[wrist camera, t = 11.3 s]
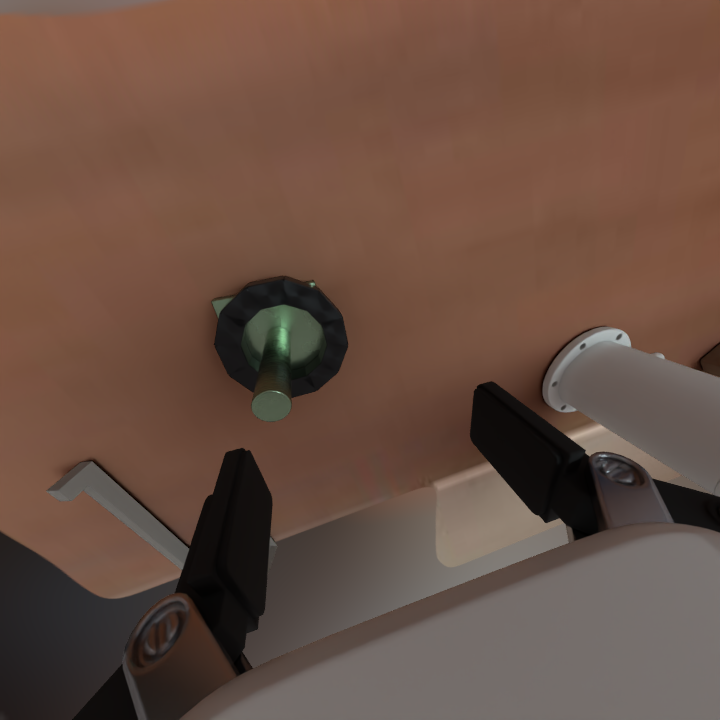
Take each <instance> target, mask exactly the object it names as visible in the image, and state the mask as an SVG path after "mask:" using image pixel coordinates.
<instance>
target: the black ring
mask: <svg viewBox="0 0 720 720" xmlns="http://www.w3.org/2000/svg"><path fill="white" fill-rule="evenodd" d="M280 305H287V306H291V307H294V308H298V309H301V310H305V311H307V312H308V313H309V314H310V315H311V316H312V317H313V318H314V319H315V320H316V321H317V322H318V323H319V324H320V325H321V327H322V331H323V335H324V341H323V344H322V347H321V350H320V353H319V355H318V356H317V357H316V358H315V359H314V360H313V361H311V362H310V363H309V364H308V365H307V366H306V367H303V368H299V369H295V370H291V396H292V398H293V397H297V396H301V395H304V394H308V393H312V392H315V391H316V390H318V389H320V388H321V387H322V386H323V385H324V384H325V383H327V382H328V381H329V380H330V379H331V378H332V377H333V376H335V375H336V374H337V373H338V372H339V369H340V367H341V364H342V361H343V359H344V356H345V353H346V350H347V348H348V341H347V336H346V331H345V326H344V321H343V317H342V315H341V313H340V311H339V310H338V308H337V307H336V306H335V305H334V304H333V303H332V302H331V301H330V300H329V299H328V297H327V296H326V295H325V294H324V293H323V292H322V291H321V290H320V289H319V288H318V287H317V286H315V285H311V284H308V283H305V282H302V281H299V280H296V279H293V278H290V277H287V276H279V277H274V278H269V279H264V280H259V281H255V282H250V283H248V284H247V285H246V286H245V287H244V288H243V289H242V290H241V291H240V292H239V293H238V294H237V295H236V296H235V297H234V298H233V299H232V300H231V301H230V302H229V303H228V304H227V305H226V306H225V307H224V308H223V309H222V310H221V311H220V313H219V319H218V325H217V331H216V337H215V343H214V345H215V348H216V350H217V352H218V354H219V357H220V359H221V361H222V363H223V365H224V367H225V369H226V371H227V373H228V374H230V375H229V376H230V377H231V378H233V379H234V380H236V381H237V382H239V383H240V384H242V385H243V386H245V387H246V388H247V389H249V390H250V391H252V392H253V393H254V390H255V385H256V381H257V376H258V372H259V367H260V362H259V361H258V360H256V359H255V358H254V357H253V356H251V353H250V351H249V348H248V346H247V343H246V341H245V339H244V336H245V332H246V327H247V323H248V322H249V321H250V320H251V319H252V318H253V317H254V316H255V315H256V314H257V313H258V312H259V311H260V310H262V309H267V308H271V307H276V306H280Z"/></svg>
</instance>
